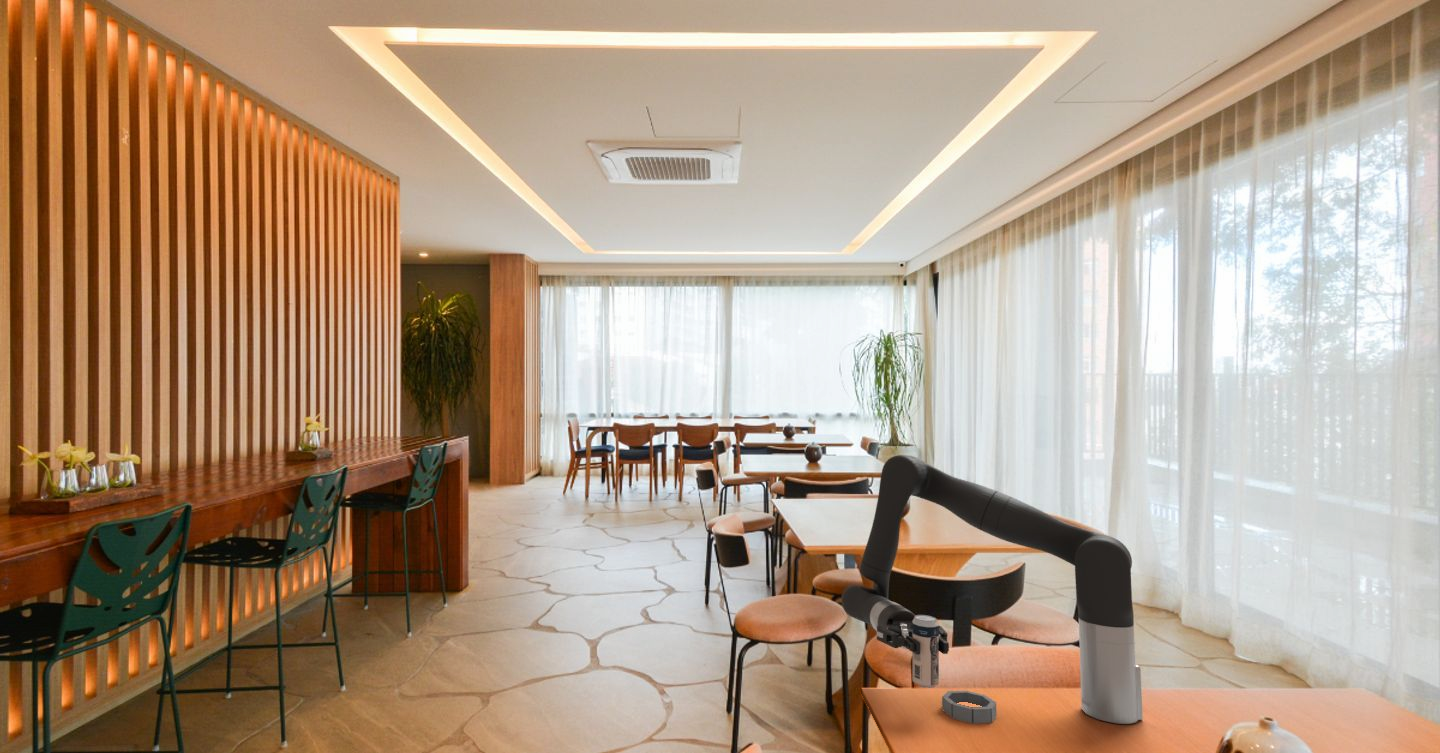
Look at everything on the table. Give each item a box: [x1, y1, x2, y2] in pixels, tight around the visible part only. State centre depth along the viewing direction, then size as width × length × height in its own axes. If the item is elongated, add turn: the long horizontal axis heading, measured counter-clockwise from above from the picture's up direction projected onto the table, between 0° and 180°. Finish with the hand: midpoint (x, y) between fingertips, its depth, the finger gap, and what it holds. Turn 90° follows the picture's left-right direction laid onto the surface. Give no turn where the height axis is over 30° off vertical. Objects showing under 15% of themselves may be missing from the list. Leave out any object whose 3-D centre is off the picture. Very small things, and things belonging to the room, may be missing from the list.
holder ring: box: [941, 690, 998, 725], centre depth 123 cm, size 9×9×2 cm
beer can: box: [911, 614, 940, 688], centre depth 122 cm, size 5×5×12 cm
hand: (932, 648), depth 119 cm, fingers closed on beer can, 4 cm apart
